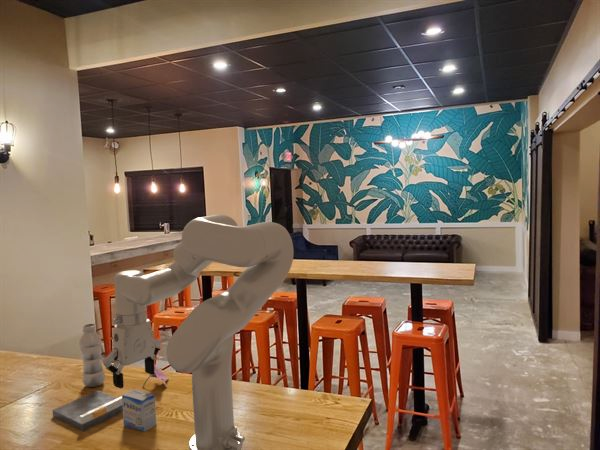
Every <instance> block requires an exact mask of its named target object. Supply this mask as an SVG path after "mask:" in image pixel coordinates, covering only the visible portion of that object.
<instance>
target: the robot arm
mask: <svg viewBox="0 0 600 450" xmlns="http://www.w3.org/2000/svg"><path fill="white" fill-rule="evenodd" d="M173 259H174V262H173V263H171V264H170V265H169V266H168V267H165V268H163V269H159V270H157V271H154V272H149V273H146V274H145V273H144V272H143V271H141V270H136V269H131V270H123V271H119V272H117V273H116V274H115V275H114V278H113V279H114V280H113V282H114V301H115V303H114V304H115V318H113V319H112V324H114V328H113V336H112V351H111V352H109V354H108V355H107V356H106V357H104V358H103V359H102V360H101V361H102V365H104V367H105V369H106V370H108V371H109V372H110V373H112V381H113V382H112V383H113V386H114V387H115V388H118V389H121V390H122V389H123V388H124V386H125V385H124V384H125V383H124V373H123V372H122V370H123V369H124V367H125V366H130V365H132V364H133V365H134V364H135V363H138V362H140V361H143V360H144V372H145V373H146V374H148V375H150V374H151V375H153V374H154V364H155V360H156V359H157V355H158V352H159V351H160V349H159V348H160V346H161V343H162V341H161V340H160V339H158V338H154V332H153V328H152V324H151V320H150V319H149V318H147V317H148V316H147V315H148V314H147V306H151V305H153V304H156V303H159V302H161V301H163V300H166V299H169V298H172V297H174V296H176V295H178V294H180V293H181V292H182V291H183V290H185V289H187V288H188V287H189V286H190V285H192V284H193V283H194V282H195V281H196V280H197V279H198V278H199V276H200V275H201V272H202V271H203V270H205V268H207V267H208V266H210V265H211V264H212V263H213V262H214V263H217V264H218V263H219V264H222V265H226V266H231V267H237V268H245V269H244V270H243V271H242V272H241V273H240V274H239V276H238V277H237V278H236V280H235V281H234V282H233V283H232V284H231V285H230V286H229V288H227V289H226V290H225V291H223V292H221V293H219V294H217V295H215V296H212V297H210V298H208V299H206V300H204V301H202V302H201V303H199V304H198V305H196V307H194V308H193V309H192V311H191V312H190V313H189V314H188V315H187V316H186V318H185V319H184V320H183V321H182V323H181V324H180V325H179V327H178V328H176V330H175V332H173V334H171V336H170V338H169V340H168V342H167V345H166V350H165V351H166V359H167V362H168V364H169V366H170V367H171V368H172V369H173V371H174V370H175V371H176V372H178V373H181V374H190V373H191V384H192V386H191V389H192V390H191V391H192V407H193V421H194V422H193V423H194V435H192V437H191V438H190V440H189V442H188V443H189V444H188V445H189V447H188V448H189V450H242V449H243V443H244V442H245V440H246V438H245V436H243V435H241V433H240V431H239V430H238V426H236V425H235V421H234V419H235V418H234V401H233V399H234V398H233V383H232V382H233V379H232V377H233V375H232V357H233V349H234V335H235V334H237V333H238V332H240V331H241V330H244V328H246V326H247V325H248V324H249V323H250V322H251V320H252V319H253V318H254V317H255V316H256V314H257V313H259V311H260V310H261V309H262V308H263V306H265V304H266V303H267V301H269V299H270V298H271V297H272V296H273V295H274V293H275V292H277V290H278V289H279V288H280V287H281V286H282V284H283V283H284V281H285V280H286V278H287V276H288V275H289V273H290V270H291V267H292V265H293V262H294V244H293V239H292V236H291V235H290V233H289V231H288V230H287V228H286V227H284V226H283V225H281V224H280V223H277V222H273V221H263V222H258V223H252V224H249V225H244V226H239V224H238V223H237V222H236V221H235V219H233V217H231V216H229V215H225V214H213V215H207V216H206V215H205V216H201V217H196V218H194V219H192V220H191V219H190V221H189V222H188V223H186V225H185V226H184V228H183V230H182V233H181V241H180V242H179V243H178V244H177V245H176V246H175V248H174V249H173ZM113 361H114V362H113ZM112 362H113V363H112Z"/></svg>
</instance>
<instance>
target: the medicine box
mask: <svg viewBox="0 0 600 450" xmlns="http://www.w3.org/2000/svg"><path fill="white" fill-rule="evenodd" d="M121 396H122V405H123V412H122V417H123V419H122V420H123V426H125V427H126V428H130V429H133V430H138V431H140V432H144V433H145V432H147V431H149V430H150V429H152V428H154V426H157V413H156V398H155V397H156V396H155V394H153V393H149V392H145V391H141V390H137V389H132V390H129V391H127V392H126V393H123V394H122V395H121Z"/></svg>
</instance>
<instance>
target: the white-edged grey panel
mask: <svg viewBox="0 0 600 450" xmlns="http://www.w3.org/2000/svg"><path fill="white" fill-rule="evenodd" d="M51 412H52V417H53V418H55V419H56V420H58V421H61V422H63V423H65V424H67V425H69V426H71V427H73V428H75V429H77V430H79V431H80V432H85V431H87V430H89V429H91V428H93V427H95V426H97V425H99V424H101V423H103V422H105V421H107V420H109V419H111V418H113V417H115V416H117V415H120V414H121V413H123V405H122V395H121V396H119V397H116V396H114V395H111V394H109V393H106V392H103V391H101V390H95V391H93V392H91V393H88V394H86V395H83V396H82V397H79V398H77V399H75V400H72V401H70V402H68V403H66V404H63V405H60V406H58V407H57V408H54V409H52V411H51Z"/></svg>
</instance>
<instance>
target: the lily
mask: <svg viewBox="0 0 600 450" xmlns="http://www.w3.org/2000/svg"><path fill="white" fill-rule="evenodd" d="M148 375H149V376H148V377H147V378H146V380H145V382H144V383H143V386H142V387H141V388H142V389H143V388H144V387H145V385H146V383H147V382H148V380H149V379H150V378H155V379H158V380H160V381H161V382H162V383H163V384H164V386H165V387H166V388H168V385H167V383H166V381H165V380H169V377H168V376H167V374H166V373H164V372H163V371H162V368H160V367H158V366H157V364H155V363H154V374H153V375H151V374H148Z"/></svg>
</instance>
